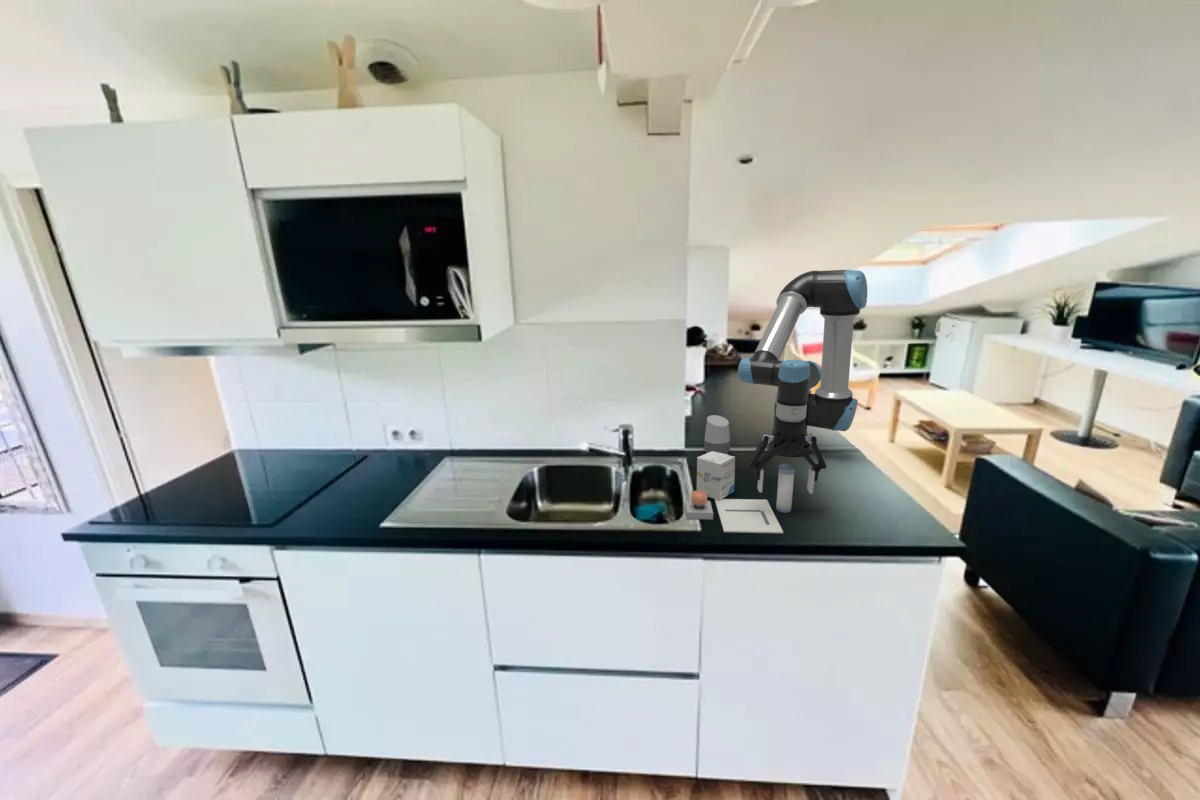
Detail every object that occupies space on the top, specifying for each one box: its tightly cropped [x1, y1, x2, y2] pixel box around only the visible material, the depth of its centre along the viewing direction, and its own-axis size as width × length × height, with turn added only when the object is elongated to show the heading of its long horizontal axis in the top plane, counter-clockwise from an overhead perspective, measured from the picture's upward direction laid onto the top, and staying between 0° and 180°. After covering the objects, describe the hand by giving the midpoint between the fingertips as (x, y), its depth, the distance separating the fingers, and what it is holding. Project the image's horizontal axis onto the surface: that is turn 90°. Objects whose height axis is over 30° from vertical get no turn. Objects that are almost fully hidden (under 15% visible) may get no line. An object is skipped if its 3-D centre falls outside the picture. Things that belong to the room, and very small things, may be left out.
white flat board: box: [714, 498, 784, 534], centre depth 134 cm, size 18×15×1 cm
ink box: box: [696, 451, 736, 500], centre depth 147 cm, size 9×8×12 cm
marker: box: [775, 463, 796, 514], centre depth 135 cm, size 4×4×13 cm
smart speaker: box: [703, 414, 731, 455], centre depth 177 cm, size 10×9×14 cm
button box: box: [684, 500, 714, 520], centre depth 136 cm, size 7×7×2 cm
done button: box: [690, 489, 708, 509], centre depth 136 cm, size 4×4×4 cm
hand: (784, 491), depth 135 cm, fingers open, 13 cm apart
